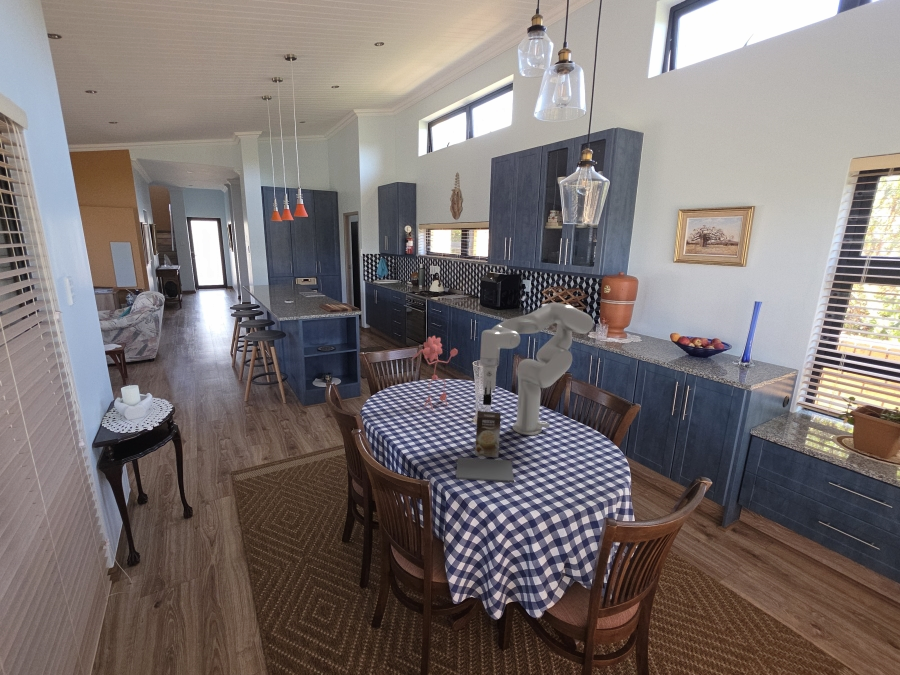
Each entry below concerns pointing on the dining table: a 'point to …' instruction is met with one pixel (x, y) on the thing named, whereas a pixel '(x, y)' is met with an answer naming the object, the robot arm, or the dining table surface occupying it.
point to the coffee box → (487, 434)
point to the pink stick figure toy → (432, 352)
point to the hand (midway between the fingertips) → (487, 404)
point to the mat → (484, 469)
